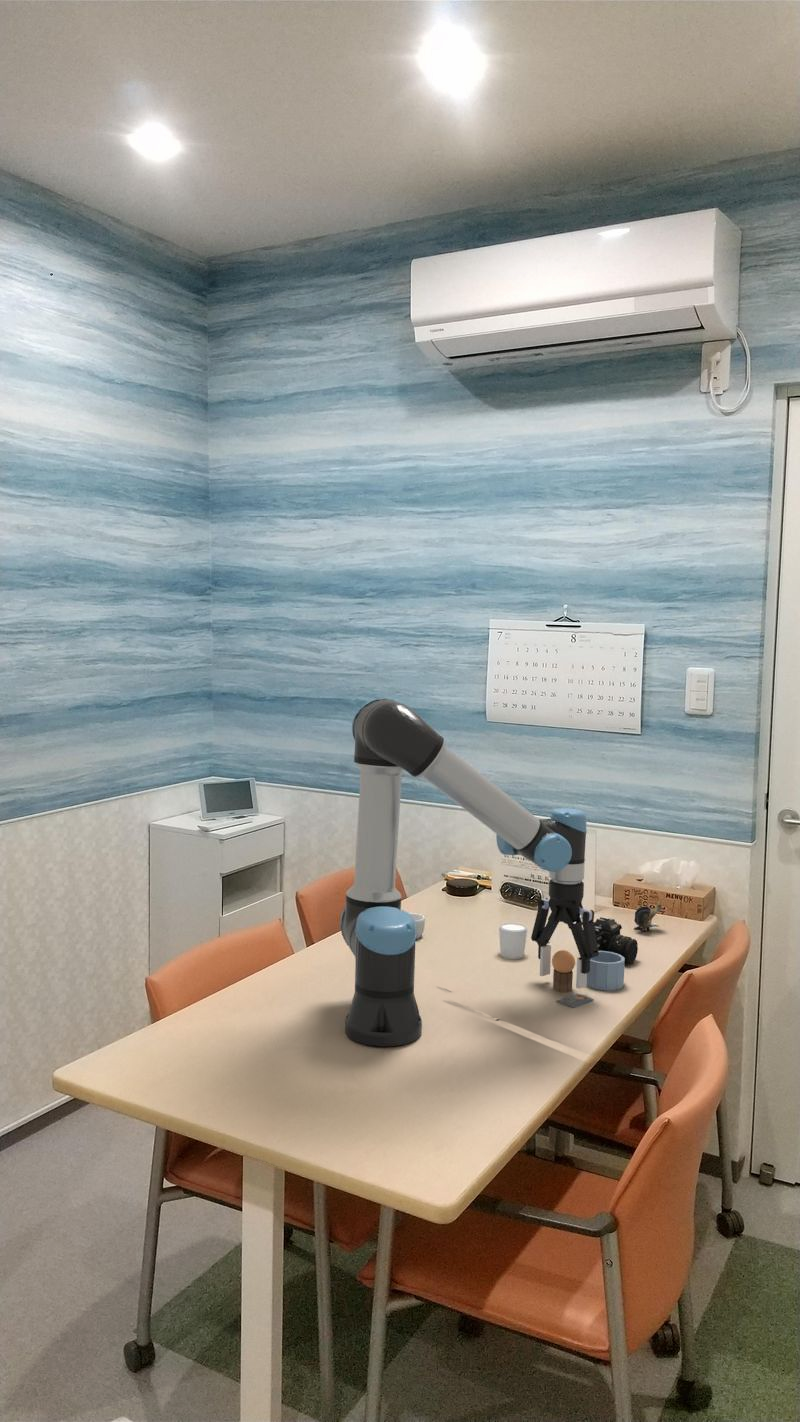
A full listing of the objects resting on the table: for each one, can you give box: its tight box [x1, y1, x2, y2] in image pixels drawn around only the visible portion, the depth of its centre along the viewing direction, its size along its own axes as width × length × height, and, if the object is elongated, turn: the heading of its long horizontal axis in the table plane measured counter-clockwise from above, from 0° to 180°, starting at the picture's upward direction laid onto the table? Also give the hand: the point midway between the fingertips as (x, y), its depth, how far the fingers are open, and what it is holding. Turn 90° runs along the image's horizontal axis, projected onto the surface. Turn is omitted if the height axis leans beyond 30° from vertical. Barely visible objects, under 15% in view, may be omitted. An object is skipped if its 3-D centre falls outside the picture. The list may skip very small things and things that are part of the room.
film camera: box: [594, 916, 639, 966], centre depth 237 cm, size 18×12×10 cm
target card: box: [555, 992, 594, 1009], centre depth 209 cm, size 7×4×1 cm, turn 132°
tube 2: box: [586, 951, 626, 991], centre depth 221 cm, size 9×9×6 cm
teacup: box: [408, 912, 426, 940], centre depth 251 cm, size 10×8×5 cm
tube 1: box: [552, 968, 574, 993], centre depth 217 cm, size 4×4×4 cm
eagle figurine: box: [633, 904, 662, 934], centre depth 258 cm, size 8×7×9 cm
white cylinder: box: [498, 923, 528, 960], centre depth 239 cm, size 7×7×7 cm
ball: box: [551, 949, 576, 973], centre depth 216 cm, size 5×5×5 cm
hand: (562, 980), depth 217 cm, fingers open, 9 cm apart
